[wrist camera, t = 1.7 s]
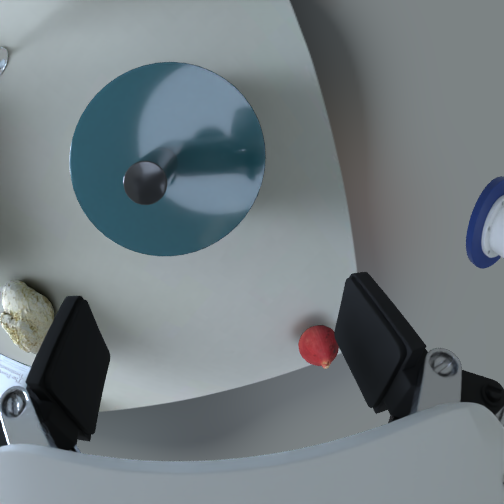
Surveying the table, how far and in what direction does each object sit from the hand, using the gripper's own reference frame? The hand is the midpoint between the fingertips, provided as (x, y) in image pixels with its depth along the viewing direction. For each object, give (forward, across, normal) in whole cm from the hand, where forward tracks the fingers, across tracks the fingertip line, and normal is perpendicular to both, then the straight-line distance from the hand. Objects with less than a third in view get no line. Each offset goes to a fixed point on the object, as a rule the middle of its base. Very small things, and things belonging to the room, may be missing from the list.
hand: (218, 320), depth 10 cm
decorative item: (+23, +29, +16) cm, 41 cm away
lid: (+13, +3, -3) cm, 14 cm away
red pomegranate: (+22, -14, +24) cm, 35 cm away
